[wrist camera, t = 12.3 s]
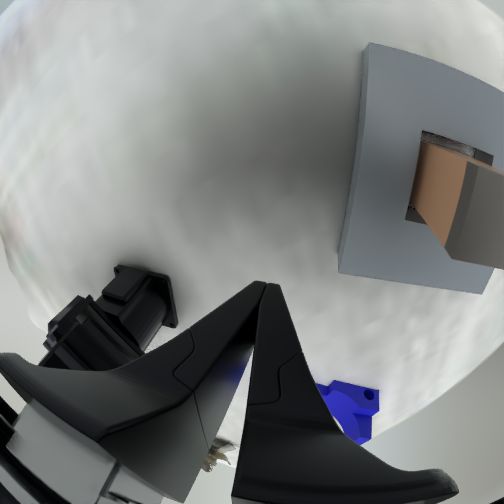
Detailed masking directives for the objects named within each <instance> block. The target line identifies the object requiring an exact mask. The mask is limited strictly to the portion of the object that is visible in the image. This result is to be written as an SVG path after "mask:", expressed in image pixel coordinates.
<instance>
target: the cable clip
mask: <svg viewBox="0 0 504 504" xmlns="http://www.w3.org/2000/svg"><path fill="white" fill-rule="evenodd" d="M316 385H317V388H318V389H319V391H320V393H321V395H322V397H323V399H324V401H325V403H326V405H327V407H328V408H329V410H330V412H331V414H332V415H333V416H334V417H335V418H336V419H337V421H338V422H339V423H340V425H341V426H342V428H343V431H344V434H345V435H346V436H348V437H349V438H350V439H352V440H353V441H354V442H356V443H357V444H359V445H361V444H363V443H365V442H367V441H369V440H370V439H371V433H372V416H373V415H374V414H376V413H377V412H378V411H379V390H374V389H370V388H365V387H361V386H356V385H352V384H348V383H344V382H340V381H336V380H334V381H333V382H332V383H331V384H330V385H329V386H324V385H321V384H317V383H316Z"/></svg>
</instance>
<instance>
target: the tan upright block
mask: <svg viewBox="0 0 504 504" xmlns="http://www.w3.org/2000/svg"><path fill="white" fill-rule="evenodd" d="M409 201H410V203H411V204H412V205H413V206H414V208H415V209H416V210H417V211H418V213H419V214H420V215H421V216H422V218H423V219H424V220H425V222H426V223H427V224H428V226H429V227H430V228H431V230H432V231H433V233H434V234H435V235H436V237H437V238H438V240H439V241H440V243H441V244H442V245H443V247H444V248H445V250H446V251H447V253H448V254H449V256H450V257H451V259H453V260H458V261H464V262H469V263H474V264H479V265H484V266H489V267H494V268H498V269H503V270H504V173H503V172H501V171H499V170H497V169H496V168H494V167H492V166H490V165H488V164H486V163H484V162H481V161H479V160H477V159H475V158H473V157H471V156H468V155H466V154H463V153H461V152H458V151H455V150H452V149H449V148H446V147H442V146H439V145H436V144H433V143H429V142H426V141H422V140H421V141H420V148H419V154H418V160H417V166H416V171H415V176H414V181H413V186H412V191H411V195H410V200H409Z"/></svg>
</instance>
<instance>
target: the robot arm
mask: <svg viewBox="0 0 504 504" xmlns="http://www.w3.org/2000/svg"><path fill="white" fill-rule="evenodd" d="M114 272H115V276H116V277H115V278H114V279H113V280H112V281H111V282H110V283H109V284H108V285H107V286H106V287H105V288H104V289H103V290H102V292H101V293H102V295H101V296H100V297H99V298H98V299H97V300H96V301H94V300H93V298H92V296H91V295H90V294H89V295H88V296H87V297H86V298H84V297H81V296H79V295H78V296H77V297H76V298H74V299H73V300H72V301H71V302H70V303H69V304H68V305H67V306H66V307H65V308H64V309H63V310H62V311H61V312H60V313H59V314H57V315H56V316H55V317H54V318H53V319H52V320H51V321H50V322H49V323H48V334H47V336H46V337H47V339H46V341H45V342H44V343H43V345H44V347H45V348H46V349H47V350H48V353H47V354H46V355H45V356H44V357H43V358H42V360H41V361H40V363H39V364H38V366H37V365H34V364H31V363H29V362H27V361H26V360H25V359H23V358H22V357H21V356H20V355H18V354H16V353H0V373H1V374H2V375H3V376H4V378H5V379H6V380H7V381H8V383H9V384H10V385H11V386H12V387H13V388H14V390H15V391H16V392H17V393H18V394H19V395H20V396H21V397H22V398H23V399H24V401H25V402H27V404H26V406H25V407H24V408H23V410H22V411H21V413H20V414H19V415H18V414H17V413H16V412H15V411H14V410H13V409H12V408H11V407H10V406H9V405H8V404H7V403H6V402H5V401H4V400H3V398H2V397H1V396H0V504H160V503H161V501H162V499H163V497H167V498H169V499H172V500H174V501H177V502H180V503H184V501H185V500H186V497H187V496H188V494H189V492H190V490H191V487H192V486H193V484H194V481H195V479H196V477H197V475H198V473H199V471H200V469H201V467H202V465H203V463H204V461H205V459H206V456H207V454H208V452H209V450H210V448H211V446H212V443H213V441H214V439H215V437H216V435H217V432H218V430H219V428H220V426H221V424H222V421H223V419H224V417H225V415H226V412H227V410H228V408H229V405H230V403H231V401H232V399H233V396H234V394H235V392H236V389H237V387H238V385H239V382H240V380H241V377H242V375H243V373H244V370H245V368H246V366H247V363H248V361H249V358H250V356H251V353H252V351H253V348H254V351H253V359H252V367H251V375H250V383H249V391H248V399H247V407H246V414H245V421H244V428H243V433H242V439H241V445H240V450H239V456H238V462H237V467H236V473H235V479H234V483H233V489H232V493H231V499H232V504H437V503H439V502H442V501H444V500H446V499H449V498H451V497H453V496H455V495H457V494H458V493H459V489H458V486H457V484H456V483H455V481H454V480H453V479H452V478H451V477H450V476H449V475H448V474H447V473H445V472H444V471H443V470H441V469H428V470H420V471H404V470H400V469H397V468H394V467H392V466H390V465H388V464H387V463H385V462H383V461H382V460H381V459H379V458H377V457H376V456H375V455H373V454H372V453H370V452H368V451H367V450H366V449H364V448H363V447H361V446H360V445H359V444H357V443H356V442H354V441H353V440H352V439H350V438H349V437H348V436H346V435H345V434H344V433H343V432H342V430H341V429H340V428H339V426H338V425H337V423H336V422H335V420H334V418H333V416H332V414H331V412H330V410H329V408H328V407H327V405H326V403H325V401H324V399H323V397H322V395H321V393H320V391H319V389H318V388H317V385H316V383H315V381H314V379H313V377H312V375H311V373H310V370H309V367H308V365H307V362H306V359H305V356H304V353H303V352H302V348H301V345H300V342H299V339H298V336H297V333H296V330H295V327H294V324H293V322H292V319H291V316H290V313H289V310H288V307H287V304H286V301H285V299H284V296H283V293H282V290H281V287H280V285H279V284H274V283H268V284H267V283H266V282H262V281H254V282H252V283H251V284H249V285H248V286H247V287H245V288H244V289H243V290H241V291H240V292H238V293H237V294H236V295H234V296H233V297H231V298H230V299H229V300H227V301H226V302H225V303H223V304H222V305H220V306H219V307H218V308H216V309H215V310H213V311H212V312H210V313H209V314H208V315H206V316H205V317H203V318H202V319H201V320H199V321H198V322H196V323H195V324H194V325H192V326H191V327H190V328H188V329H186V330H185V331H183V332H182V333H180V334H179V335H177V336H176V337H174V338H173V339H171V340H170V341H168V342H167V343H165V344H163V345H161V346H159V347H158V348H156V349H154V350H152V351H150V352H148V353H147V354H146V353H145V352H144V351H145V350H146V348H147V347H148V345H149V344H150V342H151V341H152V339H153V338H154V337H155V335H156V334H157V332H158V331H159V329H160V328H161V326H162V325H163V326H167V327H170V328H176V327H177V325H178V322H177V317H176V312H175V307H174V302H173V296H172V291H171V285H170V280H169V278H168V277H167V276H164V275H160V274H155V273H151V272H146V271H142V270H138V269H134V268H129V267H125V266H121V265H117V266H116V267H114ZM164 281H165V282H164ZM490 504H504V497H503V498H501V499H499V500H497V501H494V502H492V503H490Z"/></svg>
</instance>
